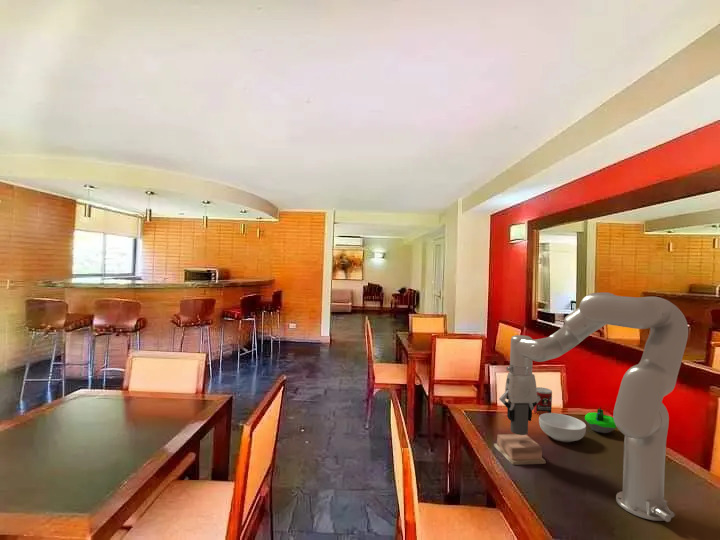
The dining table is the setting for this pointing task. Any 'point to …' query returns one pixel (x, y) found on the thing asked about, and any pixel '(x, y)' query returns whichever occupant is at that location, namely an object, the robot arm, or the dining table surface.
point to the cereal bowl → (562, 427)
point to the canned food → (543, 401)
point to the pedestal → (519, 449)
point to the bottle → (520, 419)
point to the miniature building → (600, 421)
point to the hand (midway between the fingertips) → (519, 419)
